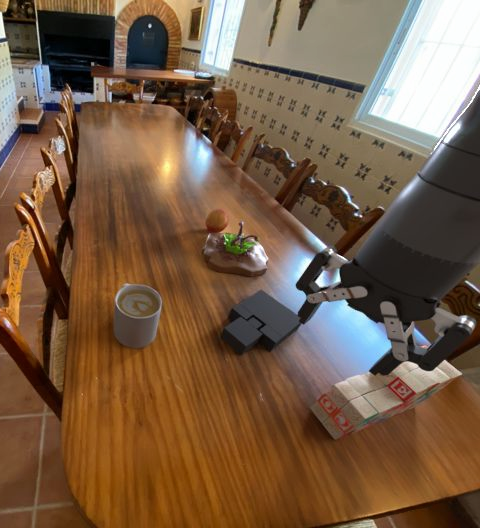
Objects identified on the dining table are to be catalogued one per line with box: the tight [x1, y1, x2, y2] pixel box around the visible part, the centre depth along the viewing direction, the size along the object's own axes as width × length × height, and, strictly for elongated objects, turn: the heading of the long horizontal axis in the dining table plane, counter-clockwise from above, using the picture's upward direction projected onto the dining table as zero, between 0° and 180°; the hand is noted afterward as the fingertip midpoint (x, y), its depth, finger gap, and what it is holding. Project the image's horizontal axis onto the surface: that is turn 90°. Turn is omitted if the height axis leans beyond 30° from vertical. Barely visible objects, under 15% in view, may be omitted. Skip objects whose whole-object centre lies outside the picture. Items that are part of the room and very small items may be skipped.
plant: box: [200, 221, 269, 278], centre depth 90 cm, size 20×20×11 cm
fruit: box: [205, 208, 230, 233], centre depth 102 cm, size 8×8×8 cm
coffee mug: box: [112, 283, 163, 349], centre depth 67 cm, size 13×10×10 cm
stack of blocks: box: [309, 345, 463, 441], centre depth 54 cm, size 21×6×12 cm, turn 109°
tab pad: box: [219, 317, 262, 357], centre depth 68 cm, size 6×8×4 cm
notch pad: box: [227, 289, 303, 353], centre depth 72 cm, size 12×12×4 cm
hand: (337, 343), depth 36 cm, fingers open, 8 cm apart
